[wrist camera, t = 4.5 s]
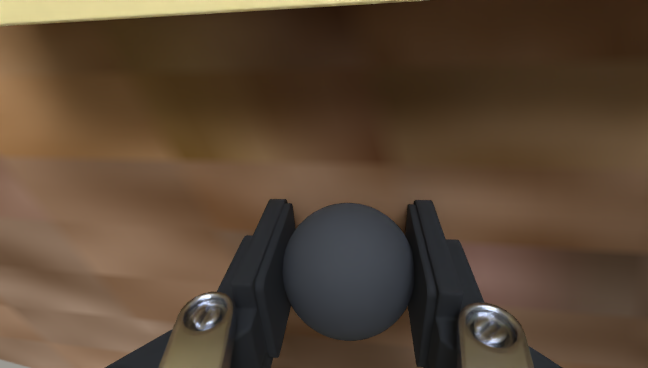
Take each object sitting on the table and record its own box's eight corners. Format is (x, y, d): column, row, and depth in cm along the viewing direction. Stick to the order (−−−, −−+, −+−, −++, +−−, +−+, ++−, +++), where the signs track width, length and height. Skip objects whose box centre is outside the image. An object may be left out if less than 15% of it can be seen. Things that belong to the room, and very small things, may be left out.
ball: (340, 156, 10) (330, 235, 7) (431, 224, 11) (462, 323, 8) (274, 232, 12) (239, 325, 9) (357, 285, 13) (355, 388, 10)
